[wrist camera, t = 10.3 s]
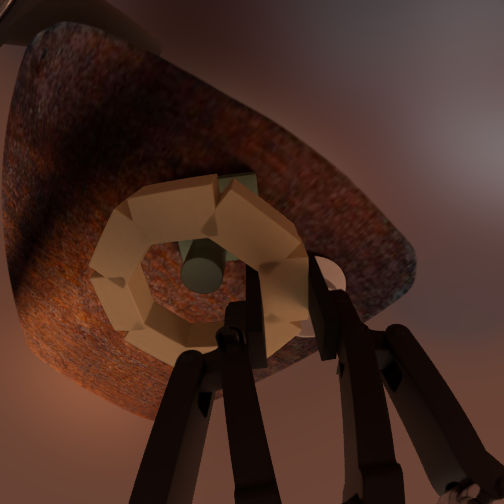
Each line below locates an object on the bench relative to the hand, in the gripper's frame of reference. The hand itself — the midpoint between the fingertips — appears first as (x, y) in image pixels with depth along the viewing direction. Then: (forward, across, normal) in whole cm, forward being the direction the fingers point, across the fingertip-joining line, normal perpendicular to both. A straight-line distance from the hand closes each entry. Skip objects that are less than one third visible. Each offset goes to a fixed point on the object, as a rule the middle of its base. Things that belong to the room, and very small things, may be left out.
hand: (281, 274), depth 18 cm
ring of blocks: (0, -5, 0) cm, 5 cm away
